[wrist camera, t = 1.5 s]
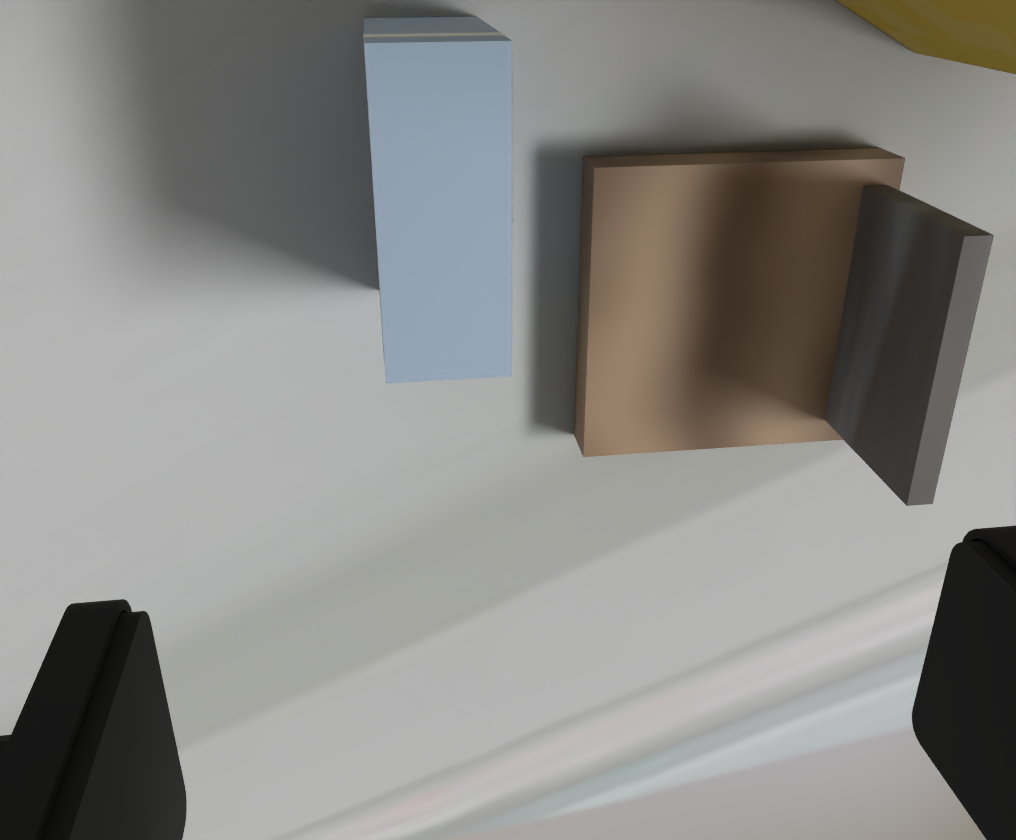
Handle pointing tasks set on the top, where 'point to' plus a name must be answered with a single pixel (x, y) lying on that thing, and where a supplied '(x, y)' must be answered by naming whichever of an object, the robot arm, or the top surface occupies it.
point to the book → (948, 28)
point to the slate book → (442, 194)
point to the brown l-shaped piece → (772, 308)
